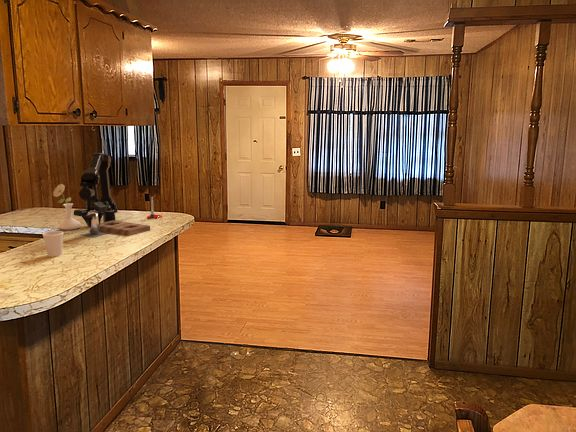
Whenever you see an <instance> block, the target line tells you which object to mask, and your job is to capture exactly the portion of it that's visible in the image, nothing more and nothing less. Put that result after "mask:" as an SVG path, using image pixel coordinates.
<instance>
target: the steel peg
mask: <svg viewBox="0 0 576 432" xmlns="http://www.w3.org/2000/svg"><path fill="white" fill-rule="evenodd" d="M90 215H92V216H91V228H89V227H88V228H89V229H88V231H89V232H88V233H91V234H96V233H99V232H101V231H99V218H98V213H94V212H91V213H90Z"/></svg>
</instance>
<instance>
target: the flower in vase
mask: <svg viewBox="0 0 576 432" xmlns="http://www.w3.org/2000/svg"><path fill="white" fill-rule="evenodd" d="M65 187H66V186H65V185H64V184H63V183H60V184H58V185H57V186H56V187H55V188H54V190H53V192H52V196H53V197H56V198H57V197H59V196H61V195H62V197H63V198H60V199H59V200H58V201H57V203H58V204H62V203H64V202H65V203H64V204H63V206H64V208H65V212H66V218H65V219H64V220H63V221H62V222H61V223H60V224H59V225H58V228H59V229H60V230H65V231H69V230H70V231H71V230H76V229H79V228H81V227H82V224H81V222H80V221H78V220H76V219H75V218H73V215H72V207H73V206H74V203H71V201H72V197H71V196H69V197H67V198H66V199H65V196H64V194H63V193H64V192H65Z"/></svg>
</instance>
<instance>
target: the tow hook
mask: <svg viewBox="0 0 576 432" xmlns="http://www.w3.org/2000/svg"><path fill="white" fill-rule="evenodd" d="M153 198H154V197H152V196H151V201H150V207H151V209H150V215H147V216H146V219H151V218H158V219H159V218H160V217H161V218H163V214H155V211H154V199H153Z"/></svg>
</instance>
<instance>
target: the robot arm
mask: <svg viewBox="0 0 576 432" xmlns="http://www.w3.org/2000/svg"><path fill="white" fill-rule="evenodd" d="M91 154H92V155H91V160H90V163H89V165H88V167H87V168H86V169H85V170H84V171H83V172H82V174H81V177H80V184H79V185H80V188H81V187H82V188H81V189H80V190H79V193H78V196H79V197H80V199H81V200H84V202H85V205H86V206H85V207H84V208H78V209H74V210H73V216H75V217H76V216H77V217H81V218H82V219H83V220H84V222H85V224H86V225H87V227H88V228H91V216H92V215H90V213H98V218H99V225H100V223H103V222H108V221H112V220H115V221H117V220H116V215H115V214H116V213H118V207H117V204H116V202H115V199H114V197H113V196H112V195H111V188H110V178H109V177H110V176H109V171H108V170H109V168H110V167H111V163H112V158H111V156H110V155H109V154H104V153H102V152H94V153H91ZM99 183H100V191H101V198H99V195H98V194H99V193H98V185H99ZM102 219H103V220H102Z"/></svg>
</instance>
